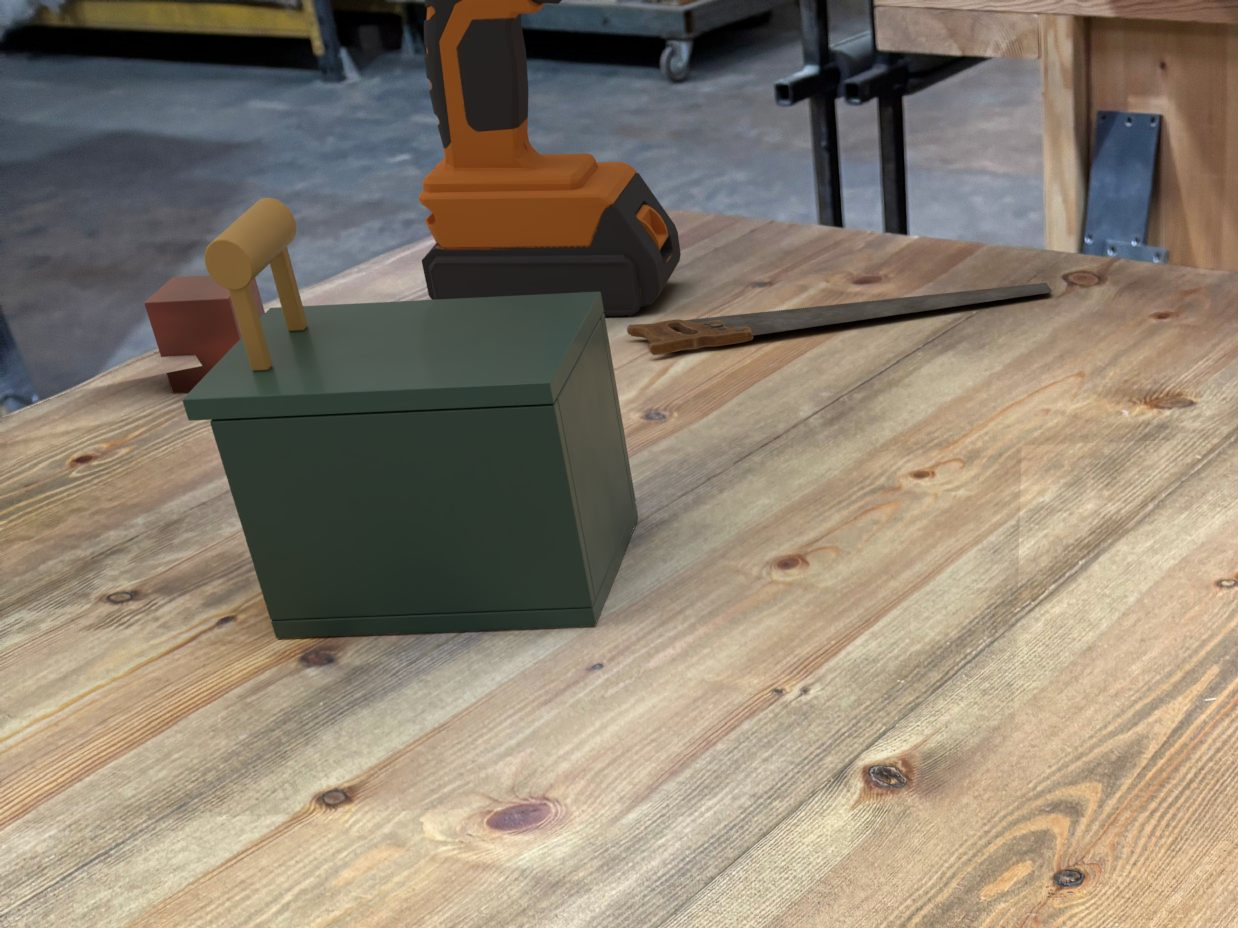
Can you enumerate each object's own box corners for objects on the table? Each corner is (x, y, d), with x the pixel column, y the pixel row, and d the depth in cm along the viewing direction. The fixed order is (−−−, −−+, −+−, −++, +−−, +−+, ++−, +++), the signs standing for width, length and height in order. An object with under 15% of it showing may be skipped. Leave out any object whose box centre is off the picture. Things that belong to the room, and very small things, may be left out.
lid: (188, 421, 75) (138, 263, 72) (275, 327, 84) (235, 182, 80) (553, 404, 75) (523, 244, 71) (604, 311, 83) (579, 163, 79)
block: (172, 393, 106) (143, 302, 103) (199, 365, 110) (172, 277, 106) (254, 389, 106) (228, 298, 103) (279, 362, 109) (254, 272, 106)
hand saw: (1030, 274, 114) (1030, 262, 113) (1057, 295, 110) (1056, 283, 110) (626, 335, 109) (624, 322, 109) (642, 358, 106) (639, 345, 105)
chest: (275, 639, 81) (208, 421, 75) (348, 531, 90) (293, 327, 84) (596, 626, 81) (553, 405, 75) (638, 518, 89) (604, 312, 83)
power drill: (787, 275, 116) (731, -256, 99) (766, 314, 111) (703, -241, 94) (440, 285, 119) (327, -232, 102) (403, 324, 113) (277, -216, 96)
